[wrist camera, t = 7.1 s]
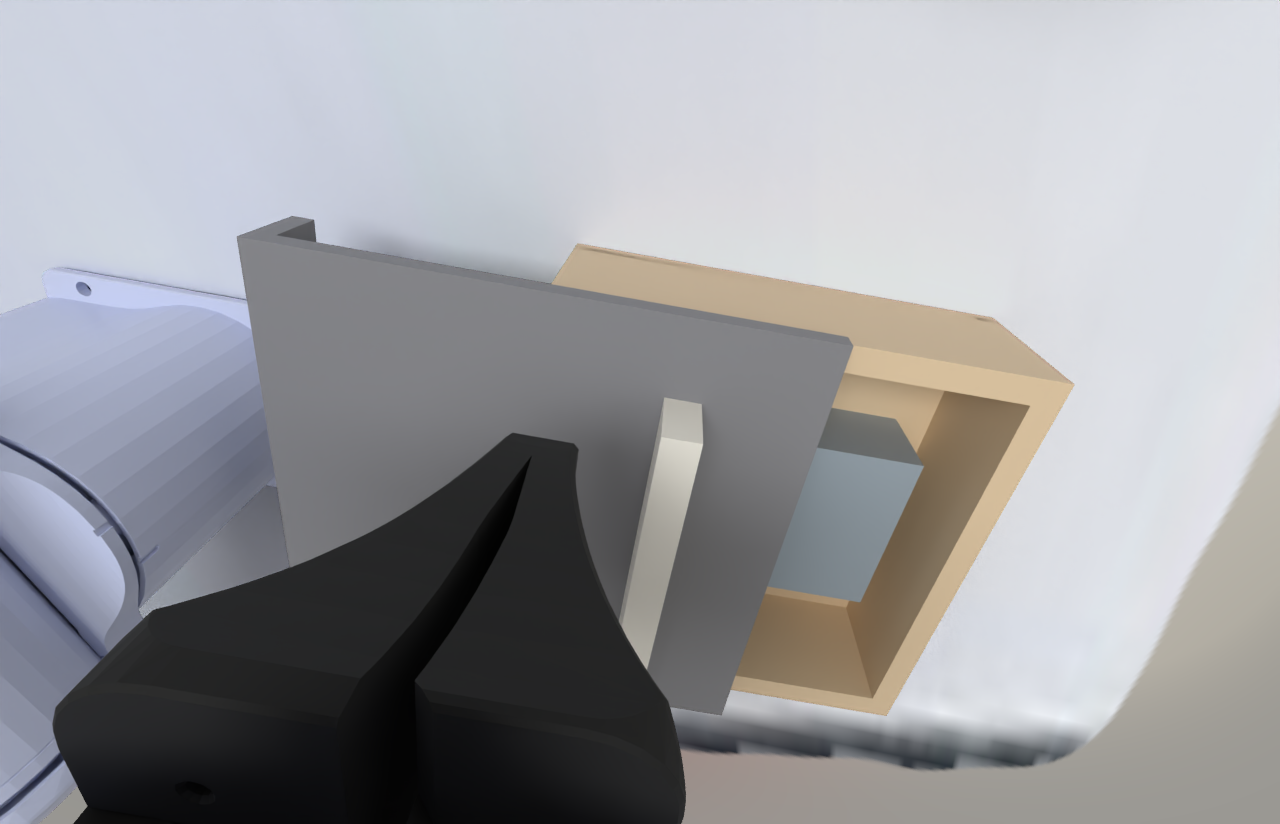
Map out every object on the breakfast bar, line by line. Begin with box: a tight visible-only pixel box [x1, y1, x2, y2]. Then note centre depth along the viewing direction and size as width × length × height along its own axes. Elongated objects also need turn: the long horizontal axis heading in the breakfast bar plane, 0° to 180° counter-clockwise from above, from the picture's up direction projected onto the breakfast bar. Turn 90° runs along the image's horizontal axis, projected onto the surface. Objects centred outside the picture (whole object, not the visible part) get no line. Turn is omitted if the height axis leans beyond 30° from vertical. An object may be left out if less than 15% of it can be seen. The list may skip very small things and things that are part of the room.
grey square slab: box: [237, 216, 853, 715], centre depth 19 cm, size 15×15×4 cm
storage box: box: [551, 243, 1074, 716], centre depth 22 cm, size 14×14×5 cm
